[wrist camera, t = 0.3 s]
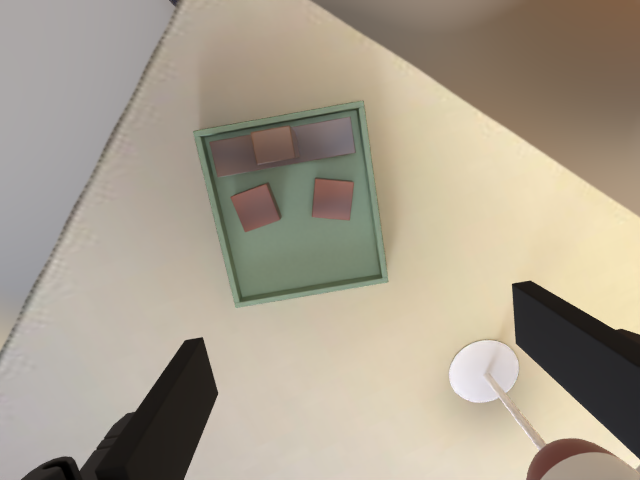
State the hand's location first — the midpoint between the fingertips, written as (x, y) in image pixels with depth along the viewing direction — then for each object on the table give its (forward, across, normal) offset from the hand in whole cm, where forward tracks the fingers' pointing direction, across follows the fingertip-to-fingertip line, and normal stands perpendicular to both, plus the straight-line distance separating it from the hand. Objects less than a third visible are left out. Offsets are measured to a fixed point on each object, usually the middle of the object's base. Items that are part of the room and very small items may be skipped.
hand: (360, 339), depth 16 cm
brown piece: (+26, -4, +9) cm, 28 cm away
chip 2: (+26, 0, +3) cm, 26 cm away
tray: (+26, -4, +2) cm, 27 cm away
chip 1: (+26, -8, +4) cm, 27 cm away
